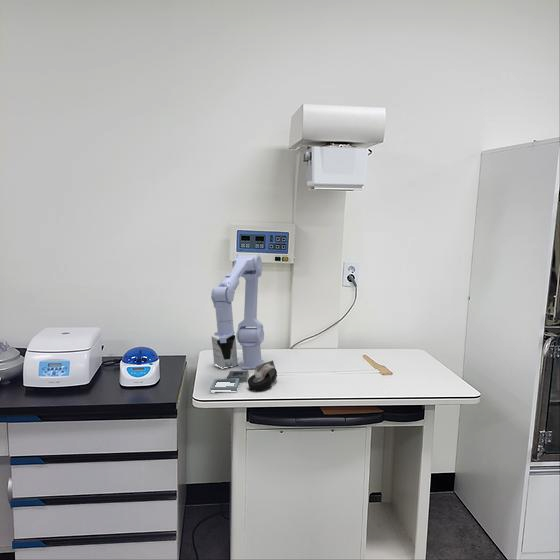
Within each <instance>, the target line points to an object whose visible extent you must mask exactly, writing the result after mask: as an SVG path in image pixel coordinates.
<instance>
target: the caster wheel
mask: <svg viewBox="0 0 560 560" xmlns="http://www.w3.org/2000/svg"><path fill="white" fill-rule="evenodd" d="M255 371H256V372H254V374H253V375H251V376H250V377H248V380H247V385H248V387H249V390H250V391H252V392H262V391H265V390H267V389H268V388H271V387H273V386H274V385H275V384H276V382H277V378H278V370H277V369H276V366H275V361H274V360H270V361H267V362H263V364H261V365H258V366H256V369H255Z"/></svg>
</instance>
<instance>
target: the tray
mask: <svg viewBox="0 0 560 560" xmlns="http://www.w3.org/2000/svg"><path fill="white" fill-rule="evenodd" d="M217 382H230V383H235V384H234V386H226V387H215V385H216V383H217ZM239 383H241V382H240V379H239V378H231V379H227V378H216V379H213V382H212V384H211V386H210V388H209V391H210V390H231V391H237V392H238V390H237V388H238V389H239V387H238V385H239V386H240V384H239Z"/></svg>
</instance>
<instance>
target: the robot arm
mask: <svg viewBox="0 0 560 560" xmlns="http://www.w3.org/2000/svg"><path fill="white" fill-rule="evenodd" d="M262 272H263V261H262V258H261V256H260V254H249V255H248V254H247V255H239V254H238V255H235V256H234V258H233V267H232V270H231V271H230V273H226V274H225V276H224V278H223V279H222V280H221V281H220V283H219V285H218V286H215V287H214V288H212V290H211V297H210V298H211V301H212V303H213V308H214V309H215V317H216V320H215V321H216V328H217V330H216V332H214V335H213V336H215V335H217V336H218V337H219V339H220V340H217V344H218V345H219V347H220V349H221V351H222V354H223V358H224V360H226V359H230V357H231V353H232V352H231V348H232V349H233V342H234V339H235V338H236V340H237V342H238V343H239V344H240V346H241V349H242V361H243V363H242V367H241V370H253V369H255V370H256V366H258V365H261V364H264V363H265V362H264V359H262V351H261V349H262V348H261V344H262V343H263V342H264V340H265V339H264V338H265V331H264V325H263V324H262V322H261V321H259V320H258V316H257V315H258V314H257V313H258V289H259V288H258V287H259V285H258V284H259V278H260V277H261V276H262ZM240 278H243V279H244V280H245V285H244V307H243V308H244V313H243V319H242V321H240V322H239V323H238V324H237V330H236V334H235V329H234V317H233V305H232V302H233V301H234V299H235V293H236V290H237V288H238V286H239V284H240Z"/></svg>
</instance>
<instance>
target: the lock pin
mask: <svg viewBox="0 0 560 560" xmlns="http://www.w3.org/2000/svg"><path fill="white" fill-rule="evenodd" d="M231 352H232V348H231ZM225 366H226V367H230V366H232V353H231V357H230V359H226V360H225Z"/></svg>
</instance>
